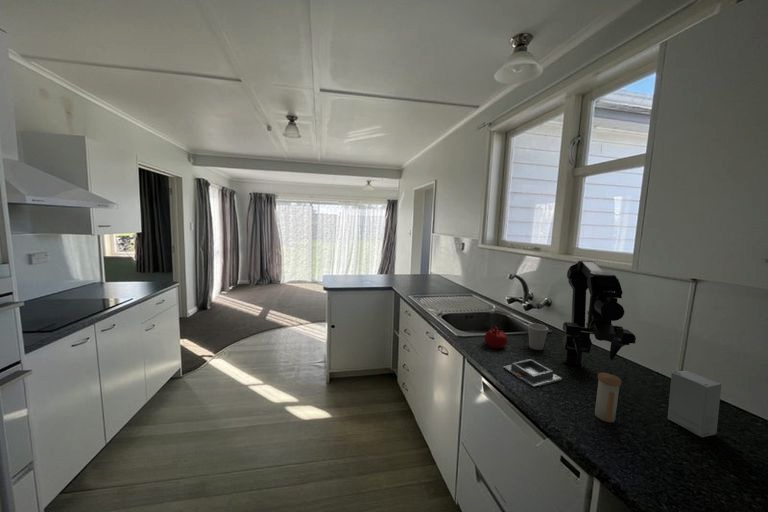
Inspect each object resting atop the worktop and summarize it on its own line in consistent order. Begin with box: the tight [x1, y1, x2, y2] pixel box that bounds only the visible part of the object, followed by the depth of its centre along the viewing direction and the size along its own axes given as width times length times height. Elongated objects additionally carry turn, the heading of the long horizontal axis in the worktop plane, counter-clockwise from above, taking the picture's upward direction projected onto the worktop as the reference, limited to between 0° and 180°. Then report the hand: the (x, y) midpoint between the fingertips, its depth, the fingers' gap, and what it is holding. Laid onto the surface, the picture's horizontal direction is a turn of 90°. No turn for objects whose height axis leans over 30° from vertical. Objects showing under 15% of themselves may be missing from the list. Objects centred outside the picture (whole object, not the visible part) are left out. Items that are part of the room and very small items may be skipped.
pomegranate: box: [484, 326, 509, 349], centre depth 131 cm, size 10×10×9 cm
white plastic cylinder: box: [594, 372, 622, 423], centre depth 84 cm, size 6×5×12 cm
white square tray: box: [502, 358, 563, 388], centre depth 108 cm, size 14×14×3 cm
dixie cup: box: [527, 322, 549, 351], centre depth 130 cm, size 8×8×10 cm
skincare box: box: [667, 370, 722, 438], centre depth 81 cm, size 8×6×15 cm
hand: (594, 356), depth 95 cm, fingers open, 9 cm apart
